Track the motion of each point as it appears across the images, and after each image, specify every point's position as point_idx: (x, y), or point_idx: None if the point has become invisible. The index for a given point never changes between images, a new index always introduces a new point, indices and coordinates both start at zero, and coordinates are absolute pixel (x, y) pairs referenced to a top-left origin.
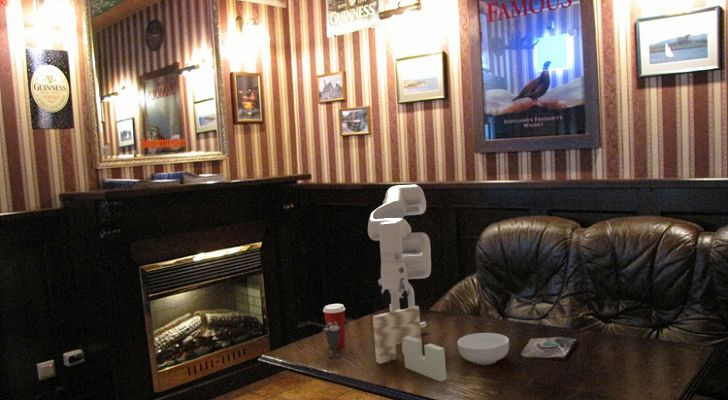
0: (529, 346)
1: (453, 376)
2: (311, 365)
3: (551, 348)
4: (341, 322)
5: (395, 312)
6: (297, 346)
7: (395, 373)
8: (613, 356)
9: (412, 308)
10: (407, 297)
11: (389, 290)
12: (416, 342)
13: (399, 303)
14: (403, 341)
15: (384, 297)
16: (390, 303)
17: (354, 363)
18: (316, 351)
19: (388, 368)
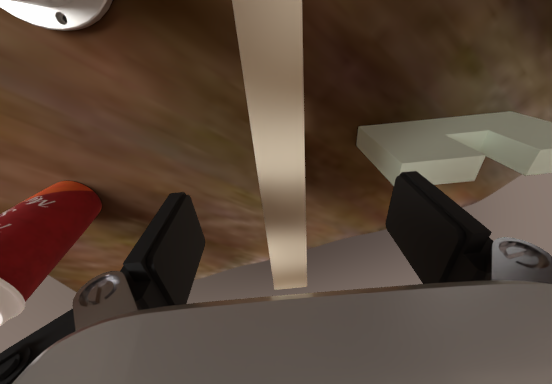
0: None
1: (520, 79)
2: (201, 274)
3: None
4: (43, 245)
5: (302, 198)
6: None
7: (367, 182)
8: None
9: (302, 40)
10: (480, 225)
11: (135, 298)
12: (474, 176)
13: (406, 257)
14: (391, 181)
15: (189, 287)
16: (190, 201)
17: (243, 218)
18: (110, 246)
19: (328, 179)
